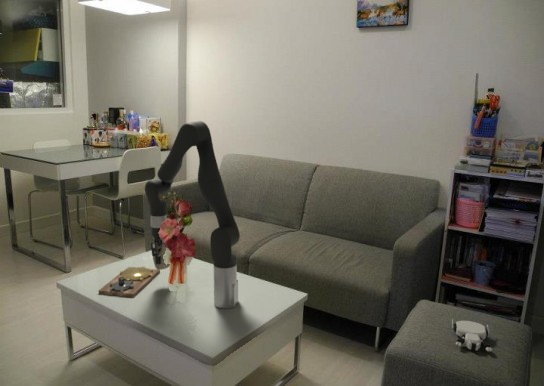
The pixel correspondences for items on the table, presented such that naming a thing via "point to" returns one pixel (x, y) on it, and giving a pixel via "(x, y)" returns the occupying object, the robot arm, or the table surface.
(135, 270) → the gear board
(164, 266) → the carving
